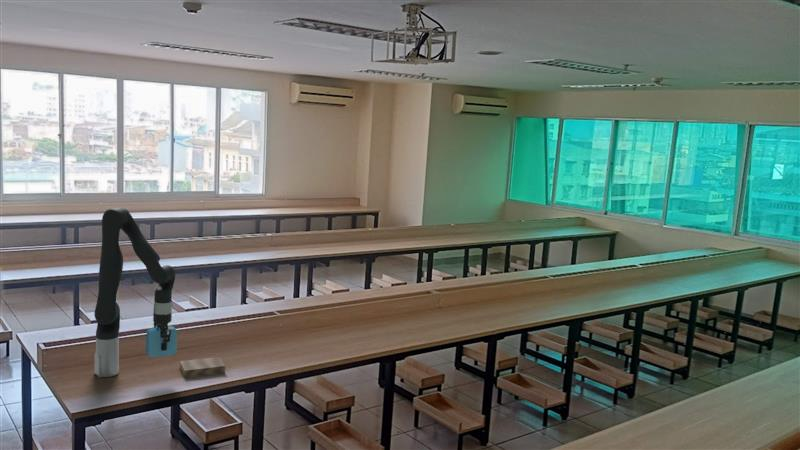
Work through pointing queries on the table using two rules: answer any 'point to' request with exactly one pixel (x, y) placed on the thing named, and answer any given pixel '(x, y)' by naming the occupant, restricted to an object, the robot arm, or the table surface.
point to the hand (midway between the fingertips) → (161, 348)
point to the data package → (155, 343)
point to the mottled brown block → (202, 367)
